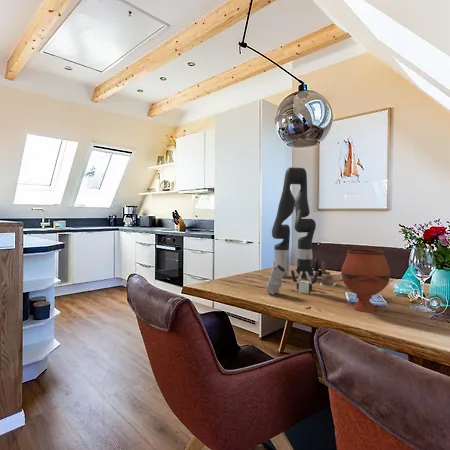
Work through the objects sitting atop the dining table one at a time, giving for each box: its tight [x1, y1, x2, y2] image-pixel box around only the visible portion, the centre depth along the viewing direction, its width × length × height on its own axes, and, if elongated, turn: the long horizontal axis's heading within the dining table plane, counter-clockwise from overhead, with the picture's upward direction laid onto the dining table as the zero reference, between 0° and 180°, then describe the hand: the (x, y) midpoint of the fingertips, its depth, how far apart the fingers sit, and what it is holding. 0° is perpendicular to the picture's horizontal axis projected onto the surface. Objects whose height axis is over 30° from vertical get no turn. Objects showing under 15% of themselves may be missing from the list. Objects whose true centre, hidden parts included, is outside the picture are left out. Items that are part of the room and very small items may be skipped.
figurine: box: [265, 265, 285, 296], centre depth 166 cm, size 9×10×15 cm
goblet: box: [340, 247, 391, 313], centre depth 139 cm, size 19×19×25 cm
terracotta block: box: [329, 272, 342, 282], centre depth 196 cm, size 5×5×5 cm
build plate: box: [319, 281, 337, 287], centre depth 184 cm, size 20×16×1 cm
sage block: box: [298, 280, 310, 294], centre depth 171 cm, size 5×5×5 cm
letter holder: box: [310, 252, 327, 278], centre depth 222 cm, size 10×20×14 cm, turn 157°
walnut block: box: [321, 273, 335, 287], centre depth 183 cm, size 6×6×5 cm
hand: (304, 290), depth 171 cm, fingers closed on sage block, 5 cm apart
